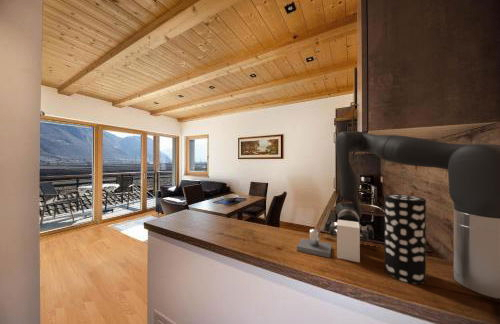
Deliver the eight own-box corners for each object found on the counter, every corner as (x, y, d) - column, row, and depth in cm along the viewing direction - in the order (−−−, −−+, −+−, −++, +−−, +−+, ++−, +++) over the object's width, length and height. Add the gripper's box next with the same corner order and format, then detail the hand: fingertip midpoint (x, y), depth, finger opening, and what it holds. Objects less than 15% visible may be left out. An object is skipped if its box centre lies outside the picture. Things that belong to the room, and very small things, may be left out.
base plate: (331, 248, 64) (331, 229, 64) (329, 257, 58) (329, 236, 58) (301, 242, 69) (301, 224, 69) (296, 250, 62) (296, 231, 62)
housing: (358, 253, 60) (358, 222, 60) (359, 262, 55) (359, 228, 55) (337, 249, 63) (337, 219, 63) (337, 257, 58) (336, 225, 58)
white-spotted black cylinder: (426, 288, 44) (426, 202, 44) (382, 274, 49) (382, 197, 49) (424, 272, 50) (425, 196, 50) (386, 261, 55) (386, 193, 55)
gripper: (328, 208, 76) (323, 220, 61) (370, 213, 69) (375, 227, 55) (328, 227, 76) (323, 243, 62) (370, 233, 69) (375, 253, 55)
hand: (348, 235), depth 58 cm, fingers open, 8 cm apart
